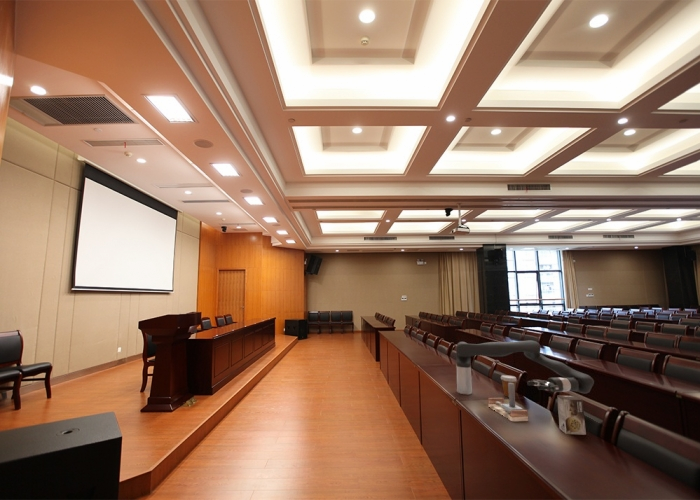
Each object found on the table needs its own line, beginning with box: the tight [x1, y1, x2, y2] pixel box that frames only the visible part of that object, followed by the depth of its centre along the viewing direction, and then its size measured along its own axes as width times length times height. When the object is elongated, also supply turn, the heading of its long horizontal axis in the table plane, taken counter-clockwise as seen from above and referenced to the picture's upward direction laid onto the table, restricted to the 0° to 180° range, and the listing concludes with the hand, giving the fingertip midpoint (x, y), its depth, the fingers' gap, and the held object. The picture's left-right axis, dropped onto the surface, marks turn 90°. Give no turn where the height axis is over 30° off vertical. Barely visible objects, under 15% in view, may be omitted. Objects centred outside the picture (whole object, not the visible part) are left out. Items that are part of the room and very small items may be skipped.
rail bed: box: [487, 397, 529, 422], centre depth 181 cm, size 22×9×5 cm, turn 8°
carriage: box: [502, 383, 524, 413], centre depth 177 cm, size 8×7×15 cm
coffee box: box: [556, 394, 587, 436], centre depth 158 cm, size 9×6×16 cm
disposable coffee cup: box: [500, 374, 517, 398], centre depth 214 cm, size 10×10×12 cm
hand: (532, 385), depth 179 cm, fingers open, 8 cm apart
